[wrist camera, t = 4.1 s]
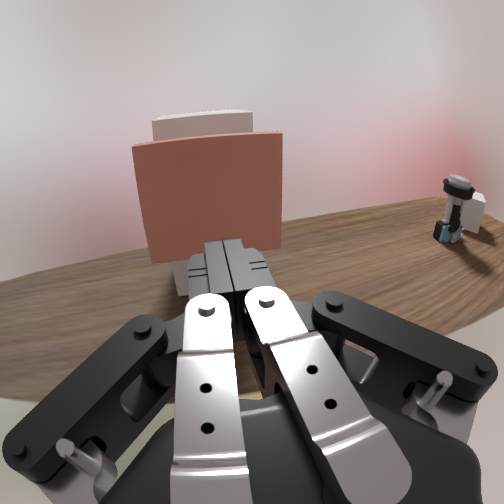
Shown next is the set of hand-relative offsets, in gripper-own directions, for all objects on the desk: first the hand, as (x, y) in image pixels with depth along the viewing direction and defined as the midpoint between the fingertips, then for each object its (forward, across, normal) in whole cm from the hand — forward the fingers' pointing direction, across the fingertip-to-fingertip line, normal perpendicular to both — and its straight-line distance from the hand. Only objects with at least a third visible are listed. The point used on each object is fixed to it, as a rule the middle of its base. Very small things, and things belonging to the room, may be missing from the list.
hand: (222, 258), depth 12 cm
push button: (+17, -36, +12) cm, 42 cm away
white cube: (+21, -45, +12) cm, 52 cm away
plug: (+10, 0, +4) cm, 11 cm away
